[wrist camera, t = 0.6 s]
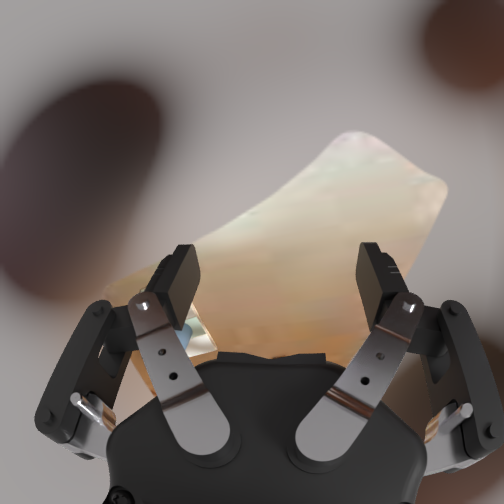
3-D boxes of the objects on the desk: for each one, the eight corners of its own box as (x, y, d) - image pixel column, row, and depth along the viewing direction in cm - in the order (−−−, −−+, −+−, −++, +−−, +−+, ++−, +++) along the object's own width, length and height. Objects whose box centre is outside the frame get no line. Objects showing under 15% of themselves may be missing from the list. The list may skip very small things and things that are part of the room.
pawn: (198, 336, 48) (179, 382, 37) (179, 342, 49) (158, 386, 37) (187, 318, 47) (165, 361, 35) (168, 324, 48) (143, 366, 36)
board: (217, 347, 50) (216, 350, 49) (182, 356, 51) (181, 359, 50) (177, 274, 46) (175, 276, 45) (141, 288, 47) (139, 291, 46)
